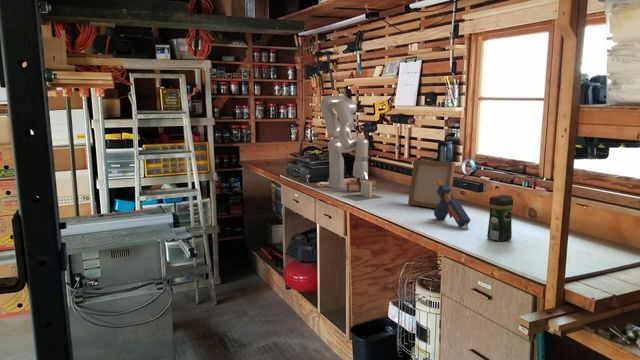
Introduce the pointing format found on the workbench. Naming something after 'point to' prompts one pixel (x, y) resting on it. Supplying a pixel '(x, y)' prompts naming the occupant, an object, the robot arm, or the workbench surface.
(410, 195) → the photo frame
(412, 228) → the workbench surface
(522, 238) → the workbench surface
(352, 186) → the batten
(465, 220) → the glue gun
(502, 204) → the coffee jar
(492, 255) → the workbench surface
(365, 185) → the tile
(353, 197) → the mat
